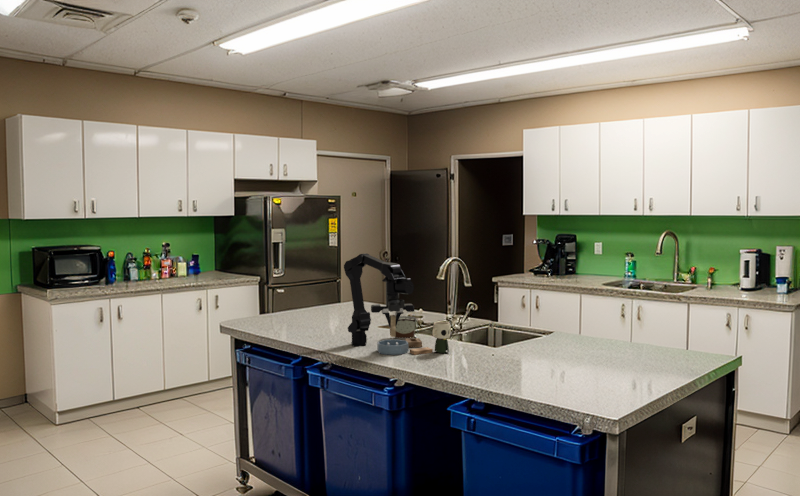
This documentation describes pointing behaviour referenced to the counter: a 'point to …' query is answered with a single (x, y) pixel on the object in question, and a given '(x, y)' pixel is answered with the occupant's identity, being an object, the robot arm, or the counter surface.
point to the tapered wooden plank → (421, 351)
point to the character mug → (441, 336)
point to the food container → (405, 327)
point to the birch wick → (393, 326)
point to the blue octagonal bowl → (392, 347)
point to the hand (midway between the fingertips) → (392, 327)
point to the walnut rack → (414, 342)
